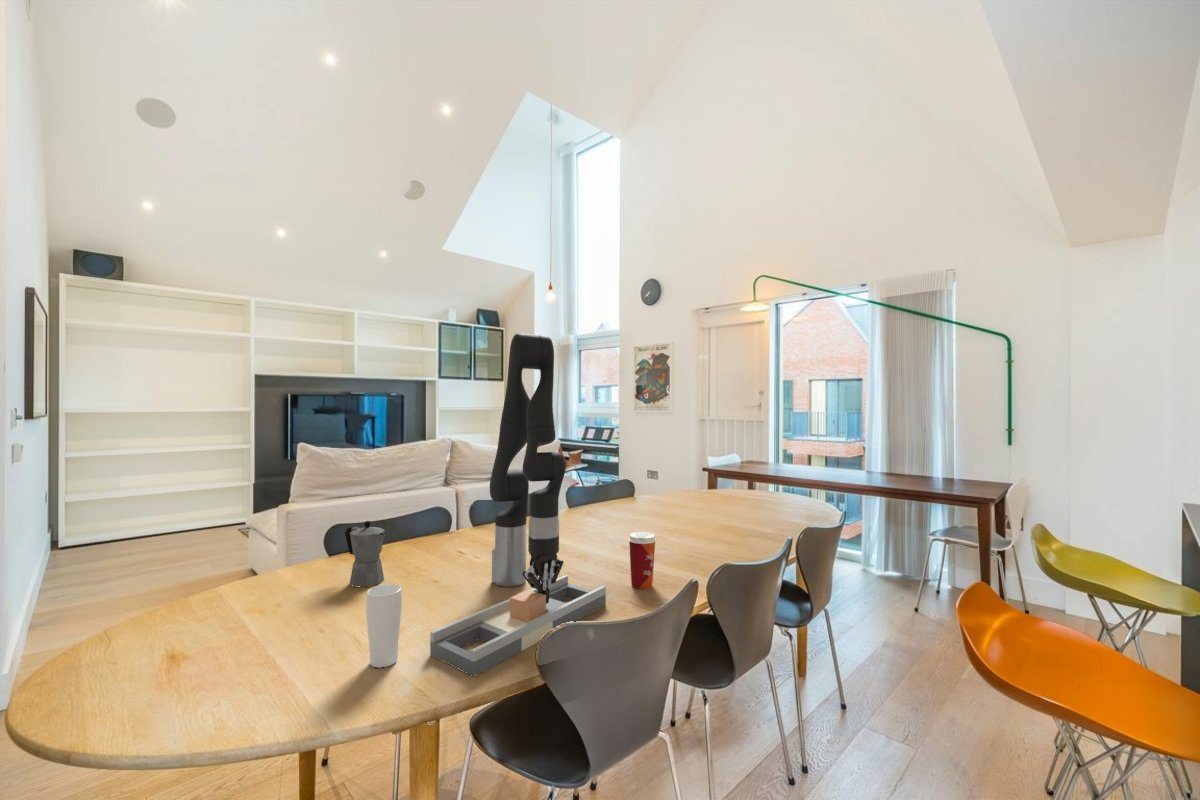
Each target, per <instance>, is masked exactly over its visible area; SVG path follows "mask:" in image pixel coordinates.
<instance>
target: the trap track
mask: <svg viewBox="0 0 1200 800" xmlns="http://www.w3.org/2000/svg"><path fill="white" fill-rule="evenodd" d="M529 591H533V592H536V593H538V590H537V589H535V588H532V589H529ZM606 591H607V586H605V585H602V586H599V587H597V588H595V589H589V588H586V587H584V586H583V587H582V586H579V585H577V584H572V583H569V575H563V576H561V577H557V579H556V582H555V583H552V584H551V587H550V588H549V603H547V604H546V614H544V615H542V616H540V617H538V618H535V619H533V620H531V621H529V622H525V621H522V620H519V619H515V618H512V617H510V598H507V599H506V600H504V601H500V602H498V603H496V604H493V605H491V606H489V607H486V608H484V609H482V610H480V611H477V612H475V613H471V614H470V615H467V616H465V617H463V618H460V619H457V620H455V621H453V622H450V623H449V624H446V625H444V626H441V627H438V628H436V629H433V630H432V631H430V635H429V636H430V647H429V648H430V649H429V650H430V652H429V653H430V654H429V655H430V656H431V655H432V656H431V657H433V656H434V657H433V658H435V657H436V658H435V659H437V658H438V659H437V660H439V659H441V660H443V661H445V662H447V663H449V664H451V665H453V666H454V667H453V666H452V667H453V668H455V667H456V668H455V669H457V668H459V669H461V670H463V671H464V672H463V671H462V672H463V673H465V672H467V673H469V674H470V675H472V676H475V675H477V674H479V673H481V672H482V673H484V672H486V671H488V670H490V669H492V668H493V667H495V666H497V665H499V664H500V662H501V663H503V662H505V661H506V660H508V659H510V658H512V657H514V656H515V655H518V654H519V653H521V652H523V651H525V650H527V649H528V648H530V647H532V646H533V645H536V644H538V643H539V642H540V641H539V640H540V639H541V638H542V636H543V635H544V634H545V633H546V632H547V631H549V630H550V629H552V628H554V627H556V626H558V625H560V624H562V623H566V622H570V621H576V622H578V621H579V620H581V619H580V618H582V619H583V618H585V617H587V616H589V615H590V614H593V613H594V612H596V611H597V610H598V611H599V610H600V609H602V608H603V607H605V606H606V603H607V600H606V598H607V597H606V596H607V594H606ZM564 599H571V600H570V601H568V602H564V601H563V600H564ZM577 620H578V621H577ZM477 639H481V640H483V641H482V642H484V641H485V642H484V643H482V644H480V645H478V646H476V647H475V648H472V649H470V651H468V650H466V649H464V648H463V647H462V646H464V647H466V646H467V645H466V644H468V645H470V644H472V643H474V642H476V641H475V640H477ZM481 640H480V641H481ZM473 641H474V642H473ZM477 641H478V640H477ZM538 641H539V642H538ZM471 642H472V643H471ZM469 643H470V644H469ZM465 645H466V646H465ZM460 647H462V648H460ZM441 660H440V661H441ZM443 661H442V662H443ZM502 661H503V662H502ZM445 662H444V663H445ZM447 663H446V664H447ZM449 664H448V665H449ZM451 665H450V666H451ZM489 668H490V669H489ZM459 669H458V670H459ZM461 670H460V671H461ZM485 670H486V671H485ZM483 671H484V672H483ZM467 673H466V674H467ZM482 673H481V674H482ZM470 675H469V676H470ZM479 675H480V674H479ZM472 676H471V677H472ZM477 676H478V675H477ZM475 677H476V676H475Z"/></svg>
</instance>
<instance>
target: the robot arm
mask: <svg viewBox="0 0 1200 800" xmlns="http://www.w3.org/2000/svg"><path fill="white" fill-rule="evenodd" d="M507 368H508V369H507V382H506V390H505V394H504V396H505V397H504V402H503V407H502V413H501V418H500V425H499V435H498V443H497V449H496V452H495V453H496V454H495V458H494V463H493V466H492V470H491V475H490V479H489V495H490V498H491V500H492V501H494V502H497V503H505V502H511V505H509V506H508V507H506V508H505V509H504V510H501V511H499V512H498V513H496V515H495V517H494V548H493V549H492V550H491V583H494V584H495V585H497V586H500V587H506V588H507V587H509V588H510V587H518V586H522V585H523V584H525V583H526V582H527V583H528V585H529V586H530V588H532V589H534V588H535V589H537V590H538V593H540V594H544V595H546V604H547V603H549V588H550V587H551V584H552V583H555V582H556V579H558V578H559V575H560V573H561V570H562V567H563V565H564V560H562V559H559V558H558V553H559V552H560V520H559V498H560V492H561V488H562V484H563V481H564V477H565V474H566V470H567V462H566V458H565V456H564V455H563V454H562V453H561V452H560V451H559V452H558V451H550V452H544V451H543V452H538V448H539V447H542V446H546V445H549V444H552V443H553V442H554V441H555V440H556V430H555V429H556V428H555V419H554V418H555V417H554V407H553V404H554V403H553V402H554V401H553V400H554V398H553V397H554V396H553V395H554V378H555V377H554V374H555V373H554V372H555V371H554V369H555V348H554V344H553V340H552V339H551V338H550V336H547V335H541V334H533V333H532V334H531V333H516V334H514V335H513V336H512V339H511V342H510V347H509V353H508V367H507ZM524 369H526V370H527V369H528V370H539V371H540V375H539V376H540V378H539V383H538V385H537V387H536V389H535V391H534V392H533V394H532V396H531V397H529V395H528V393H527V391H526V389H525V386H524V383H523V377H522V375H523V370H524ZM525 446H526V448H525V454H524V458H523V462H522V469H521V468H517V469H510V466H511V463H512V462H513V460H514V459H515V457H516V456H517V455H518V453H519V452H521V451H522V449H523V448H524V447H525ZM529 482H548V484H547V485H546V486H545V487H543V488H541V489H538V490H535V491H532V492H531V493H530V495H529V486H530V484H529ZM528 501H529V502H528ZM528 503H529V505H528ZM528 506H529V508H528ZM528 509H529V519H528V538H527V517H528ZM527 539H528V548H527ZM527 550H528V553H529V555H530V560H529V567H528V568H527Z"/></svg>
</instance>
